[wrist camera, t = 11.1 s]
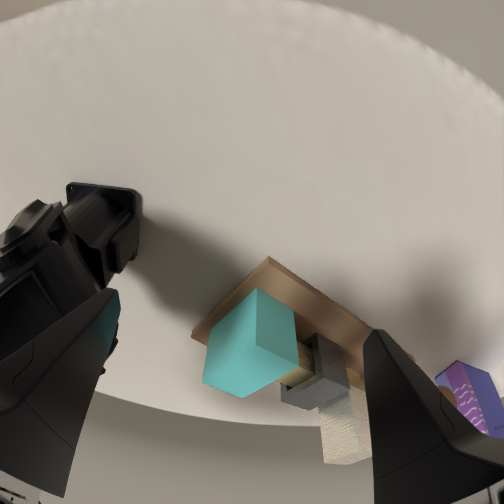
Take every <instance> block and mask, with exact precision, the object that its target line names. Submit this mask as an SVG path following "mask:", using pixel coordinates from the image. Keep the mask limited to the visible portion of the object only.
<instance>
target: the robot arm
mask: <svg viewBox="0 0 504 504" xmlns="http://www.w3.org/2000/svg"><path fill="white" fill-rule="evenodd" d="M71 187H72V188H73V190H72V189H71ZM66 194H67V204H66V205H64V206H62V203H61V201H59V202H57V203H54V204H49V205H47V204H45V203H43V202H41V201H40V200H38V199H37V200H35V201H33V202H32V203H30V204H29V205H28V206H26V207H25V208H24V209H23V210H22V211H20V212H19V213H18V214H17V215H16V216H15V217H14V219H13V220H12V222H11V223H10V225H9V226H8V227H7V229H6V230H5V231H4V232H3V233H2V234H1V235H0V504H41V503H40V501H39V497H40V493H41V490H43V491H46V492H48V493H51V494H53V495H56V496H59V497H61V498H64V495H65V490H66V486H67V481H68V477H69V473H70V469H71V465H72V461H73V457H74V454H75V449H76V446H77V443H78V439H79V436H80V433H81V429H82V426H83V423H84V420H85V417H86V414H87V410H88V408H89V405H90V402H91V399H92V396H93V393H94V390H95V387H96V385H97V382H98V379H99V376H100V375H102V374H104V373H105V371H106V370H105V368H104V367H103V366H104V363H105V361H106V360H107V359H108V358H109V356H110V355H111V354H112V353H113V351H114V349H115V347H116V345H117V343H118V339H117V338H116V336H117V330H118V325H119V324H118V318H119V315H120V310H121V307H120V300H119V294H118V291H117V290H116V289H112V288H106V287H107V286H108V284H109V282H110V281H111V279H112V277H113V276H114V274H115V273H117V274H120V273H121V272H122V271H123V269H124V267H125V266H126V264H127V262H128V261H133V260H134V259H135V258H136V256H137V246H138V244H139V229H138V217H137V215H136V195H135V192H134V191H133V190H132V189H129V188H121V187H113V186H104V185H96V184H87V183H77V182H71V183H69V184H68V185H67V186H66ZM127 194H130V196H131V198H129V197H128V196H127ZM363 367H364V385H365V393H366V401H367V409H368V417H369V427H370V437H371V448H372V461H373V476H374V504H504V438H498V437H492V436H488V435H486V434H484V433H482V432H481V431H479V430H478V429H477V428H476V427H475V426H474V425H473V424H472V423H471V422H470V421H469V420H468V419H467V418H466V417H465V416H464V415H463V414H462V413H461V412H460V411H459V410H458V409H457V408H456V407H455V406H454V405H453V404H452V403H451V402H450V401H449V400H448V398H447V397H446V396H445V395H444V394H443V393H442V392H440V390H439V388H438V387H437V386H436V385H435V384H434V383H433V382H432V381H431V380H430V378H429V377H428V376H427V375H426V374H425V373H424V372H423V371H422V370H421V369H420V367H419V366H418V365H417V364H416V363H415V362H414V361H413V360H412V359H411V358H410V357H409V356H408V354H407V353H406V352H405V351H404V350H403V349H402V348H401V347H400V346H399V345H398V344H397V343H396V342H395V341H394V340H393V339H392V337H391V336H390V335H389V334H388V333H387V332H386V331H385V330H383V329H373V330H372V331H371V333H370V334H369V336H368V337H367V339H366V340H365V342H364V344H363Z"/></svg>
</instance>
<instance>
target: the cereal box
mask: <svg viewBox="0 0 504 504" xmlns="http://www.w3.org/2000/svg"><path fill="white" fill-rule="evenodd" d="M435 380H436V383H437V386H438V388H439V390H440V392H442V393H443V394H444V395H445V396H446V397H447V398H448V400H449V401H450V402H451V403H452V404H453V405H454V406H455V407H456V408H457V409H458V410H459V411H460V412H461V413H462V414H463V415H464V416H465V417H466V418H467V419H468V420H469V421H470V422H471V423H472V424H473V425H474V426H475V427H476V428H477V429H478V430H479V431H481V432H482V433H484V434H486V435H488V436H492V437H498V438H504V407H503V405H502V402H501V400H500V397H499V395H498V393H497V390H496V388H495V386H494V384H493V381H492V379H491V377H490V375H489V373H488V372H485V371H482V370H480V369H477V368H475V367H472V366H470V365H467V364H465V363H462V362H460V361H457V360H456V361H455V362H454V363H453V364H451V365H450V366H449V367H448V368H447V369H445V370H444V371H443V372H442V373H440V374H439V375H438V376H436V377H435Z"/></svg>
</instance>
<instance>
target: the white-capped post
mask: <svg viewBox="0 0 504 504" xmlns="http://www.w3.org/2000/svg"><path fill="white" fill-rule="evenodd" d="M297 350H298V359H299V366H298V367H296V368H295V369H293V370H292V371H290V372H288V373H287V374H285V375H283V376H282V377H280V378H278V379H276V380H275V381H278V382H280V383H283V384H285V385H288V386H290V387H295V386H297V385H299V384H301V383H302V382H304V381H306V380H308V379H309V378H311V377H313V376H314V375H316V370H315V363H314V356H313V349H311V348H309V347H307V346H305V345H303V344H301V343H299V342H297ZM346 369H347V374H348V379H349V384H350V388H351V389H350V390H348V391H346V392H344V393H342V394H340V395H339V396H337V397H335V398H333V399H331V400H329V401H327V402H325V403H323V404H321V405H319V406H318V408H319V417H320V426H321V435H322V445H323V455H324V463H331V464H344V465H349V464H352V463H354V462H357V461H360V460H363V459H365V458H368V457H371V456H372V448H371V437H370V427H369V417H368V409H367V401H366V393H365V391H363V386H362V382H361V378H360V374H359V373H358V372H356V371H354V370H352V369H350V368H348V367H346Z"/></svg>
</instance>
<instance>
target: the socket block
mask: <svg viewBox="0 0 504 504" xmlns="http://www.w3.org/2000/svg"><path fill="white" fill-rule="evenodd" d="M298 366H299V359H298V350H297V340H296V331H295V322H294V314H293V310H292V309H291V308H289V307H288V306H286V305H284V304H283V303H281V302H279V301H278V300H276V299H275V298H273V297H271V296H270V295H268V294H266V293H265V292H263V291H262V290H260V289H258V288H257V287H256V288H255V289H254V290H253V291H252V292H251V293H250V294H249V295H248V296H247V297H246V298H245V299H243V300H242V301H241V302H240V303H239V304H238V305H237V306H236V307H235V308H234V309H233V310H231V311H230V312H229V313H228V314H227V315H226V316H225V317H224V318H223V319H222V320H220V321H219V322H218V323H217V324H216V325H215V326H214V327H213V328H212V329H211V330H210V336H209V342H208V348H207V355H206V361H205V367H204V374H203V380H202V382H203V383H205V384H207V385H210V386H212V387H215V388H217V389H219V390H222V391H224V392H227V393H229V394H232V395H235V396H237V397H240V398H244V397H246V396H248V395H250V394H252V393H254V392H255V391H257V390H259V389H261V388H263V387H264V386H266V385H268V384H270V383H271V382H273V381H275V380H276V379H278V378H280V377H282V376H283V375H285V374H287V373H288V372H290V371H292V370H293V369H295V368H296V367H298Z"/></svg>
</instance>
